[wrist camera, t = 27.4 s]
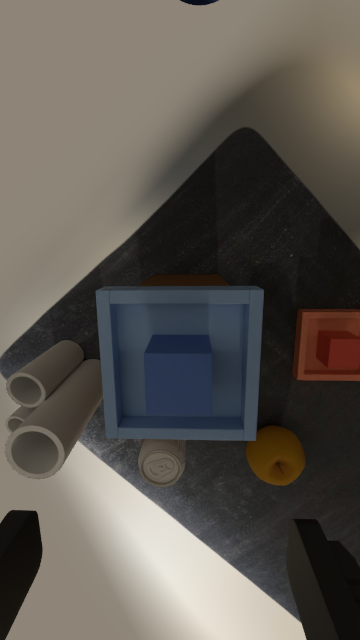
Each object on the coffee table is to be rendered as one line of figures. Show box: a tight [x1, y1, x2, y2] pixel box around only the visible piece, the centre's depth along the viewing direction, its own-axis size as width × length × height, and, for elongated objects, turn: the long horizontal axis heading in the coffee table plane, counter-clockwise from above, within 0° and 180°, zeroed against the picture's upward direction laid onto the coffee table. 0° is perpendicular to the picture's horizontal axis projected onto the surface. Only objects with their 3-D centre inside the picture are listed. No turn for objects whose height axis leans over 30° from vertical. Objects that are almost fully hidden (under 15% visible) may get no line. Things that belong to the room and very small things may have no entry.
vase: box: [5, 340, 103, 479], centre depth 42 cm, size 11×7×20 cm, turn 54°
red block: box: [316, 331, 360, 368], centre depth 46 cm, size 4×4×4 cm
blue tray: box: [96, 274, 264, 441], centre depth 36 cm, size 12×12×26 cm
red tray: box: [292, 309, 360, 381], centre depth 48 cm, size 11×11×2 cm
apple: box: [246, 425, 305, 485], centre depth 49 cm, size 9×9×9 cm
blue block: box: [144, 335, 213, 416], centre depth 23 cm, size 4×4×4 cm
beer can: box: [138, 439, 186, 487], centre depth 46 cm, size 6×6×15 cm
